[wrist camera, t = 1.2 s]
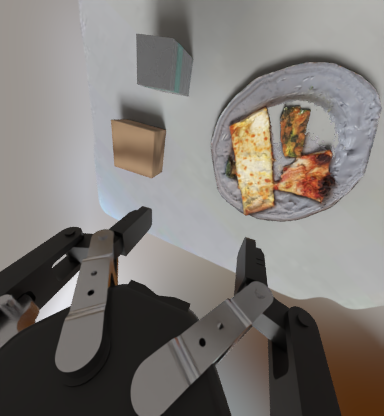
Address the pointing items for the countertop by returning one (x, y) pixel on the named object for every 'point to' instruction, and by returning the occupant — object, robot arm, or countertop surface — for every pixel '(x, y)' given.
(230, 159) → the food plate
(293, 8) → the countertop surface
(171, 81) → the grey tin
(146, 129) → the tan block
